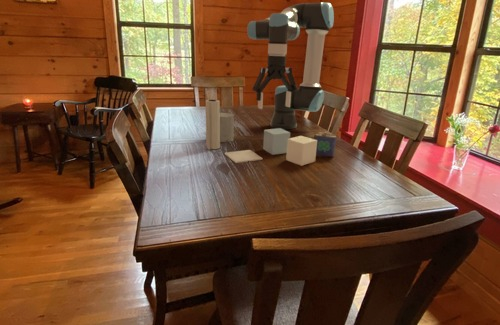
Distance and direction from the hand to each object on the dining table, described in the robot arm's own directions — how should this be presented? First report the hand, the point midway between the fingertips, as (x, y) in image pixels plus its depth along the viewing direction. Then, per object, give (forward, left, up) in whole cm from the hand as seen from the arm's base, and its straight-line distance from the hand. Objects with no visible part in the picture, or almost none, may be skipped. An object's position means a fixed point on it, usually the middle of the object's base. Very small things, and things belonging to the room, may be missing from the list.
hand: (274, 107), depth 140 cm
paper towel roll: (+24, -13, -19) cm, 33 cm away
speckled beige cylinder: (+14, -24, -19) cm, 34 cm away
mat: (+16, +3, -19) cm, 25 cm away
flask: (-17, +14, -20) cm, 30 cm away
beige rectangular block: (-4, +16, -19) cm, 26 cm away
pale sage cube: (-1, +1, -19) cm, 19 cm away
